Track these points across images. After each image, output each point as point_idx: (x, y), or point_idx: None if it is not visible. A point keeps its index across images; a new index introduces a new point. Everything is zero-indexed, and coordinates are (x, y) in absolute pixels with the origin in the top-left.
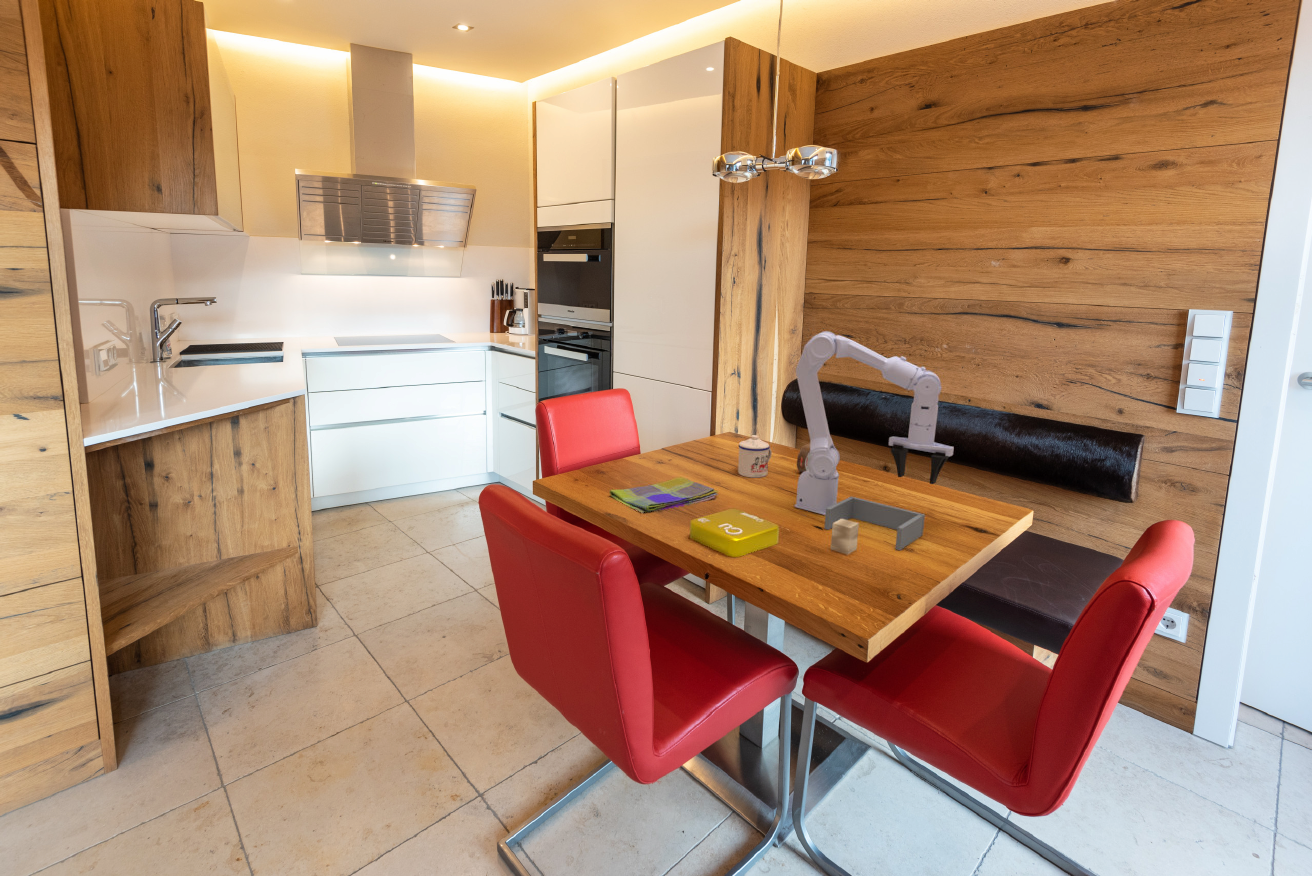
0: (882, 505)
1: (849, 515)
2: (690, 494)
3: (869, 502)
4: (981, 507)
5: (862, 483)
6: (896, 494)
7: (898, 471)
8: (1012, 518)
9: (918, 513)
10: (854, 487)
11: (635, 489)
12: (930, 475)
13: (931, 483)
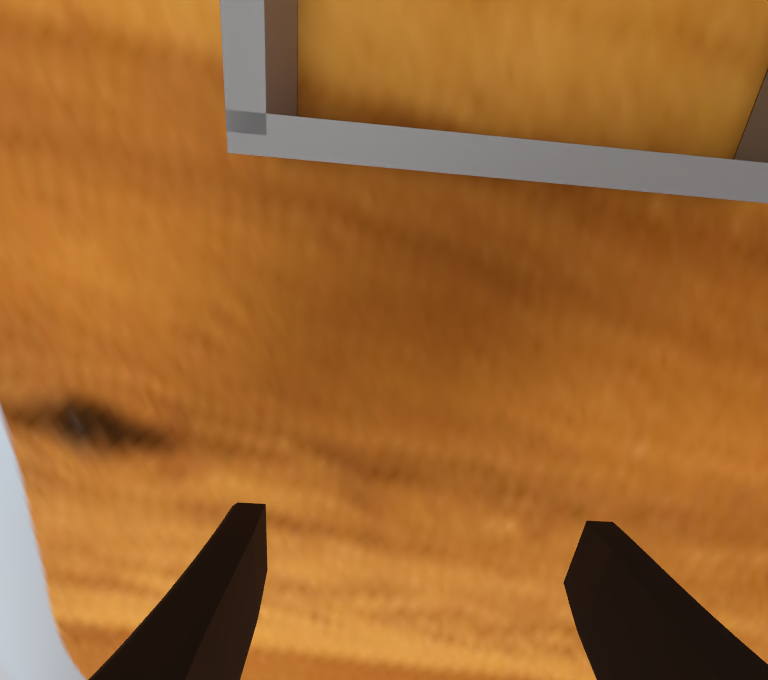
0: (599, 147)
1: (765, 127)
2: None
3: (716, 158)
4: None
5: None
6: (555, 616)
7: (649, 567)
8: (80, 622)
9: (277, 137)
10: (745, 597)
11: None
12: (229, 577)
13: (244, 506)
